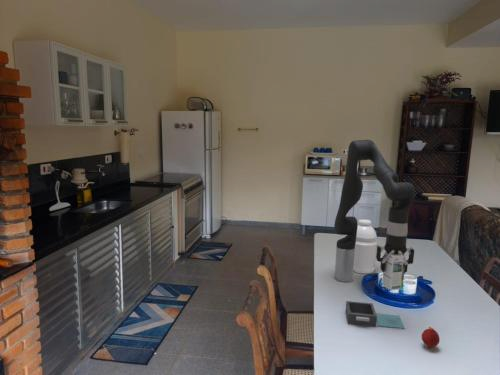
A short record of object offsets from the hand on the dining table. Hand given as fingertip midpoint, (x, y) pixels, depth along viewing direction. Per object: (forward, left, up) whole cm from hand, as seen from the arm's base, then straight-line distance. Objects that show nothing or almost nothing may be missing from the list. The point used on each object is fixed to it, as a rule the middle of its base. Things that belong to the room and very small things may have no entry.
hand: (393, 271), depth 148 cm
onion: (+16, +11, -22) cm, 29 cm away
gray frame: (0, -11, -21) cm, 24 cm away
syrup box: (0, 0, -7) cm, 7 cm away
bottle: (-55, -4, -22) cm, 59 cm away
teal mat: (0, 0, -21) cm, 21 cm away
